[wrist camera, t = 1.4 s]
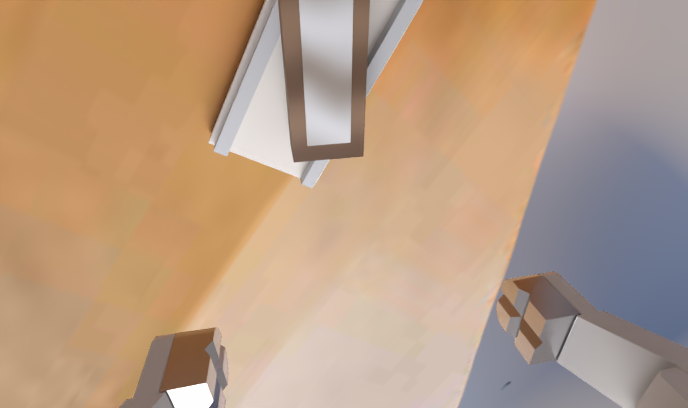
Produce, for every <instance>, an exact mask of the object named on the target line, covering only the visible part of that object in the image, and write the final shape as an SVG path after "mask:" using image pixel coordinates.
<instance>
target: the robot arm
mask: <svg viewBox="0 0 688 408" xmlns="http://www.w3.org/2000/svg"><path fill="white" fill-rule="evenodd" d="M501 290H502V292H503V293H504V295H503V296H502V297H501V298H500V299H499V300H498V302H497V307H496V312H497V317H498V320H499V322H500V324H501V326H502V328H503V329H504V331H505V332H506V333H508V334H510V335H512V336H513V337H515V346H516V348H517V349H518V350H519V352H520V353H521V354H522V356H523V357H524V359H525V360H526V361H527V363H528V364H529V365H532V364H538V363H544V362H549V361H555V360H557V362H558V363H559V364H561V365H562V366H563V367H565V368H566V369H568V370H569V371H571V372H572V373H574V374H575V375H576V376H578V377H579V378H581V379H582V380H584V381H585V382H587V383H588V384H589V385H591V386H592V387H594V388H595V389H597V390H598V391H600V392H601V393H603V394H604V395H605V396H607V397H608V398H610V399H611V400H613V401H614V402H615V403H617V404H618V405H620V406H621V407H623V408H688V348H685V347H684V346H681V345H679V344H677V343H675V342H672V341H670V340H668V339H666V338H663V337H661V336H659V335H657V334H654V333H652V332H650V331H648V330H646V329H643V328H641V327H639V326H637V325H634V324H632V323H630V322H628V321H625V320H623V319H621V318H619V317H616V316H614V315H612V314H609V313H608V312H605V311H598V310H596V309H595V307H594V306H592V305H591V304H590V303H589V302H588V301H587V300H586V299H585V298H584V297H583V296H582V295H581V294H580V293H579V292H578V291H577V290H576V289H574V288H573V287H572V286H571V285H570V284H569V283H568V282H567V281H566V280H565V279H564V278H563V277H562V276H561V275H559V274H558V273H556V272H547V273H542V274H537V275H535V274H534V275H529V276H524V277H518V278H512V279H507V280H505V281H504V282H503V283H502V287H501ZM221 337H222V336H221V333H220V330H219V328H209V329H202V330H195V331H188V332H180V333H175V334H168V335H161V336H156V337H155V339H154V340H153V341H152V343H151V346H150V349H149V352H148V355H147V358H146V361H145V364H144V367H143V370H142V373H141V376H140V379H139V382H138V385H137V388H136V391H135V394H134V397H133V398H131V399H126V401H125V402H124V403H123V404H122V405H121V406H120V407H119V408H225V405H226V400H225V397H224V394H223V390H224V388H225V387H226V386H227V384H228V358H227V353H226V349H225V347H223V346H222V345H221Z"/></svg>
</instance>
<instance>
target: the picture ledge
mask: <svg viewBox="0 0 688 408" xmlns="http://www.w3.org/2000/svg"><path fill="white" fill-rule="evenodd" d="M422 2H423V0H370V11H369V35H368V58H367V81H366V97H367V96H368V94H369V92H370V90H371V89H372V87H373V85H374V84H375V82H376V80H377V79H378V77H379V75H380V73H381V72H382V70H383V68H384V67H385V65H386V63H387V62H388V60H389V58H390V56H391V55H392V53H393V51H394V50H395V48H396V46H397V45H398V43H399V41H400V39H401V38H402V36H403V34H404V33H405V31H406V29H407V28H408V26H409V24H410V22H411V21H412V19H413V17H414V16H415V14H416V12H417V11H418V9H419V7H420V6H421V4H422ZM209 143H210V144H212V145H215V146H214V152H216V153H219V154H222V155H224V156H227V155H228V153H229V151H230V152H233V153H236V154H238V155H241V156H243V157H246V158H249V159H251V160H254V161H257V162H259V163H262V164H264V165H267V166H270V167H272V168H275V169H277V170H280V171H283V172H285V173H288V174H291V175H293V176H296V177H298V178H300V179H301V184H302V185H304V186H307V187H310V188H313V186H314V185H315V184H316V182H317V180H318V179H319V177H320V175H321V174H322V172H323V170H324V169H325V167H326V165H327V163H328V162H329V160H330V159H328V160H317V161H306V162H295V163H294V161H293V156H292V150H291V145H290V134H289V123H288V111H287V100H286V89H285V77H284V66H283V54H282V43H281V31H280V20H279V9H278V0H265V2H264V4H263V6H262V9H261V11H260V14H259V16H258V19H257V21H256V24H255V26H254V29H253V31H252V34H251V36H250V39H249V41H248V44H247V46H246V49H245V51H244V54H243V56H242V59H241V61H240V64H239V66H238V69H237V71H236V73H235V76H234V78H233V81H232V83H231V86H230V88H229V91H228V93H227V96H226V98H225V101H224V103H223V106H222V108H221V111H220V113H219V116H218V118H217V121H216V123H215V126H214V128H213V131H212V133H211V136H210V139H209Z"/></svg>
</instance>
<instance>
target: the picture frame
mask: <svg viewBox="0 0 688 408" xmlns="http://www.w3.org/2000/svg"><path fill="white" fill-rule="evenodd" d="M278 9H279V20H280V31H281V43H282V54H283V66H284V77H285V89H286V100H287V111H288V123H289V134H290V145H291V150H292V156H293V161H294V163H295V162H306V161H317V160H328V159H339V158H350V157H361V156H363V151H364V127H365V104H366V81H367V58H368V35H369V11H370V0H278Z"/></svg>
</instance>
